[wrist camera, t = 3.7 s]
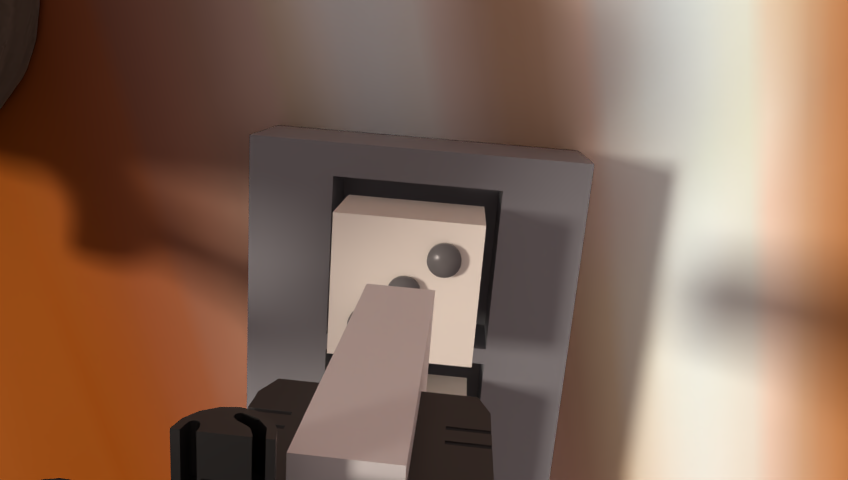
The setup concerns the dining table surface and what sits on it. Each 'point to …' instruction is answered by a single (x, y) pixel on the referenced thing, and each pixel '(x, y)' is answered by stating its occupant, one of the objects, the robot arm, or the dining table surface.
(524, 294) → the grey dice tray
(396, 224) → the tile
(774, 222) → the dining table surface
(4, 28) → the beer stein
